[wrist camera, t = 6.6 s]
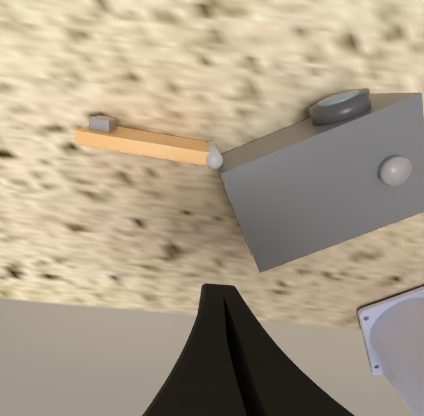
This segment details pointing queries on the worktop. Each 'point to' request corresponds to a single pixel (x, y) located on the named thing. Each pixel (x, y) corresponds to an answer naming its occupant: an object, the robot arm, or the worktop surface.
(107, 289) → the worktop surface
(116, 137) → the side door
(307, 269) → the worktop surface
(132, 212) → the worktop surface
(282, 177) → the camera body
